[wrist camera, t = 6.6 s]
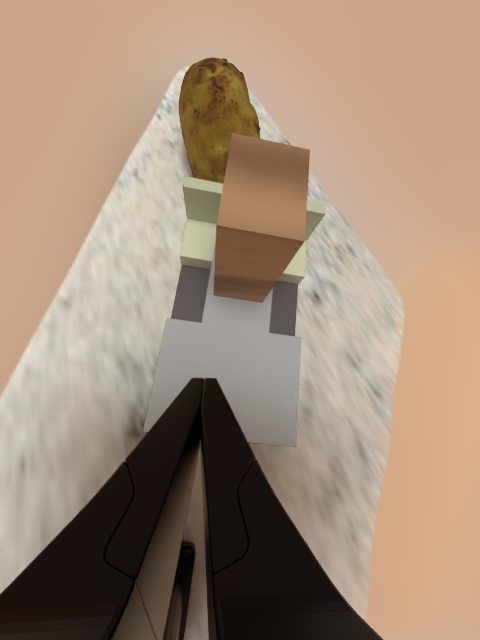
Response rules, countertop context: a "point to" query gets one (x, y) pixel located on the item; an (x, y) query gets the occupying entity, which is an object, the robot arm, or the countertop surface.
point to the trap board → (232, 331)
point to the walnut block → (259, 216)
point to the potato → (214, 115)
